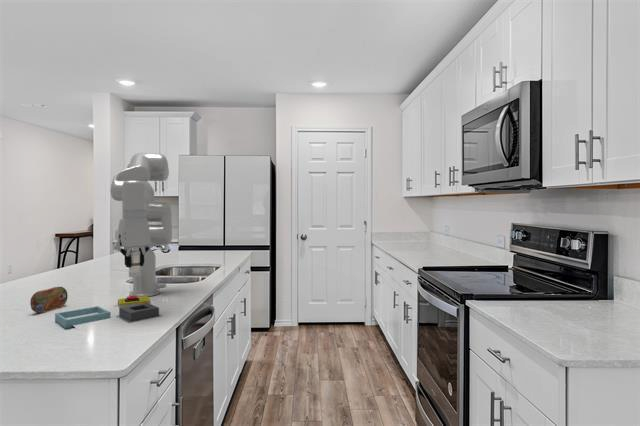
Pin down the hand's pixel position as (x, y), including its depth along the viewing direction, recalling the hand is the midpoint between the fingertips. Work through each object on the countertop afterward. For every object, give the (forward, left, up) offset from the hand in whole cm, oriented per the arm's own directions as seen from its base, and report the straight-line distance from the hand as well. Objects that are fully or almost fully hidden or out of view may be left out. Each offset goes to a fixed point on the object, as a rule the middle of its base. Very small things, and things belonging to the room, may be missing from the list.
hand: (134, 265), depth 147 cm
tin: (+18, -36, -19) cm, 45 cm away
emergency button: (-7, -18, -20) cm, 28 cm away
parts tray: (+14, -10, -19) cm, 26 cm away
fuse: (0, 0, -4) cm, 4 cm away
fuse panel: (-1, +1, -19) cm, 19 cm away
